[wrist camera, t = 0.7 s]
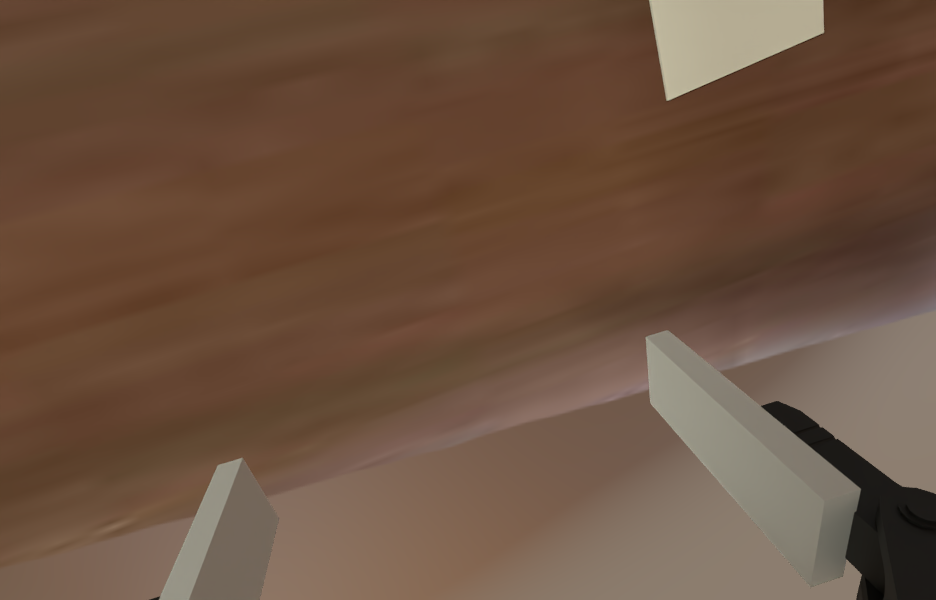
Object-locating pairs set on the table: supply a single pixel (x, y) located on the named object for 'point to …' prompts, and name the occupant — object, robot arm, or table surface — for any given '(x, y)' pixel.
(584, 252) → the table surface
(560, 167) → the table surface
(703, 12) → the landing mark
